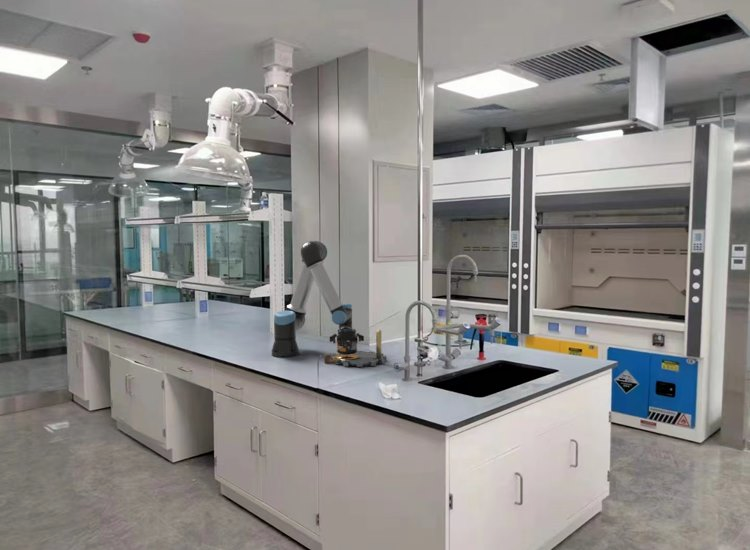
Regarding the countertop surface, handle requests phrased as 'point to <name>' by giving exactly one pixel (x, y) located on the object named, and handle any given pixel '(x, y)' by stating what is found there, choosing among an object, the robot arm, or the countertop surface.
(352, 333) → the supplement container
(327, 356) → the index mark
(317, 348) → the countertop surface
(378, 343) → the turntable
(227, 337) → the countertop surface
